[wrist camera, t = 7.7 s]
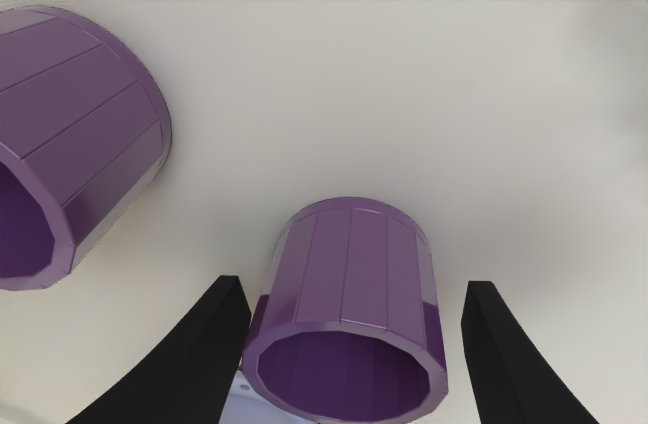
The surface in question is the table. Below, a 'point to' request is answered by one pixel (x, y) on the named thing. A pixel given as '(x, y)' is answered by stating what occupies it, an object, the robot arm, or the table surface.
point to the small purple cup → (69, 140)
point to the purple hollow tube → (349, 318)
